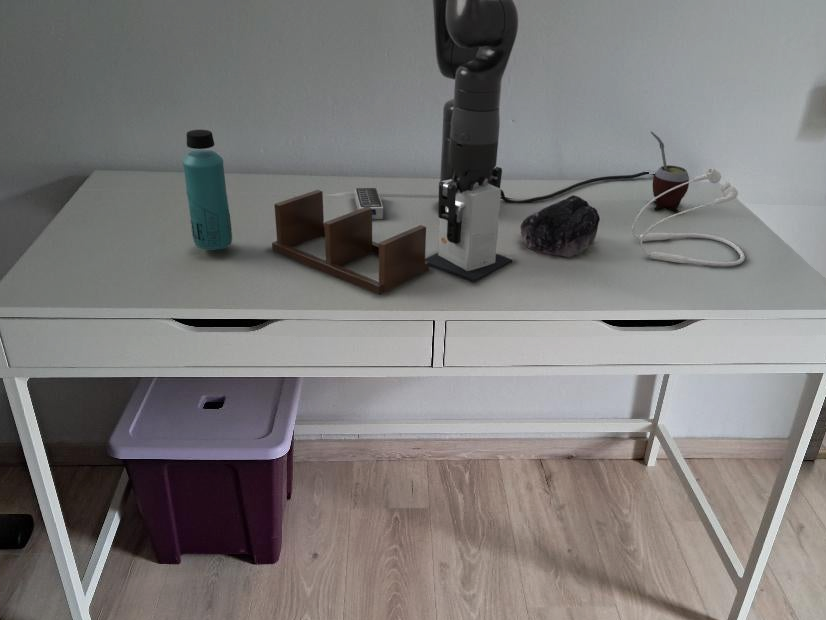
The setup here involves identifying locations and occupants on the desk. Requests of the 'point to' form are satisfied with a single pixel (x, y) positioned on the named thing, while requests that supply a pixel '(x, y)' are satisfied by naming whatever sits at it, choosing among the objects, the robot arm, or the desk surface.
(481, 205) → the small box
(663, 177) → the mate gourd
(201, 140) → the beverage bottle
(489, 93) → the robot arm
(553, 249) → the crystal cluster
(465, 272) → the mat
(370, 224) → the rack
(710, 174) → the earphone
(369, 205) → the multiport hub
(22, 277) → the desk surface
